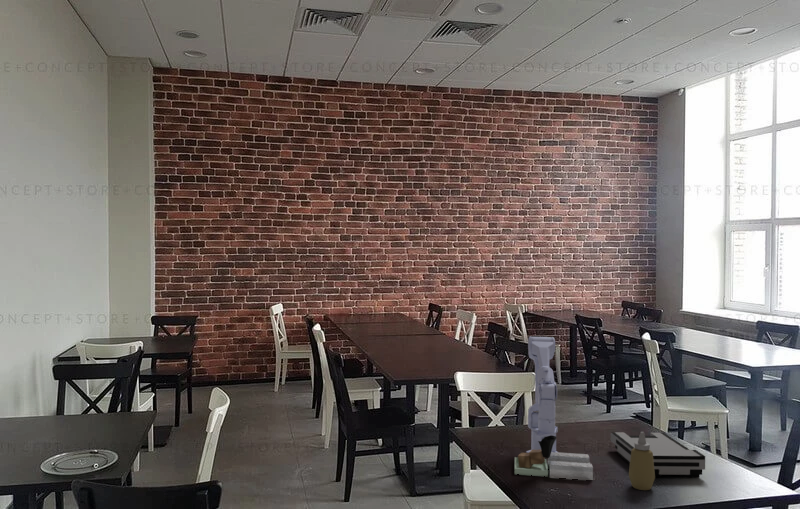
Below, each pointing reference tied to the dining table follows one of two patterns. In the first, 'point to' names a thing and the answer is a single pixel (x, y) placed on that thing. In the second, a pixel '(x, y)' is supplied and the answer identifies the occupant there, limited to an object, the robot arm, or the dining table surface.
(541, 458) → the chip
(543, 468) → the tray
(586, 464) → the slot block
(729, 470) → the dining table surface
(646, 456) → the squeeze bottle
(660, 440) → the game console
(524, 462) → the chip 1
